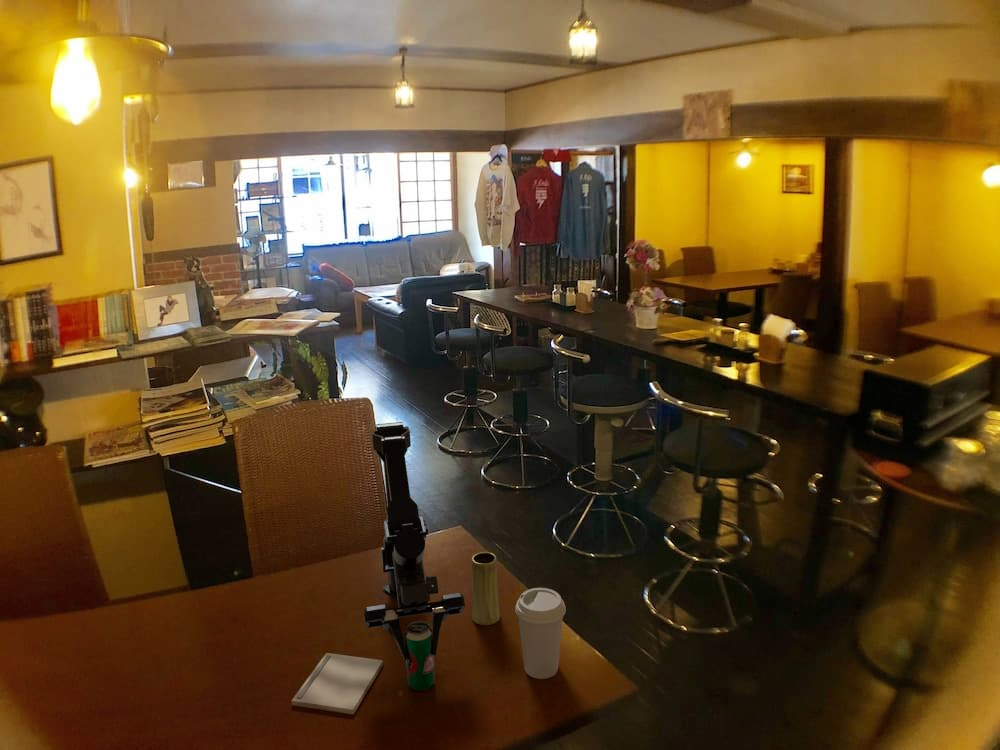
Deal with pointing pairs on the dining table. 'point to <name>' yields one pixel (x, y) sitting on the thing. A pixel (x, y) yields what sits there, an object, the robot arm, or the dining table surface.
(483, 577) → the vase
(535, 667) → the coffee cup
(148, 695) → the dining table surface
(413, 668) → the soda can
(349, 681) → the white rectangular tray
